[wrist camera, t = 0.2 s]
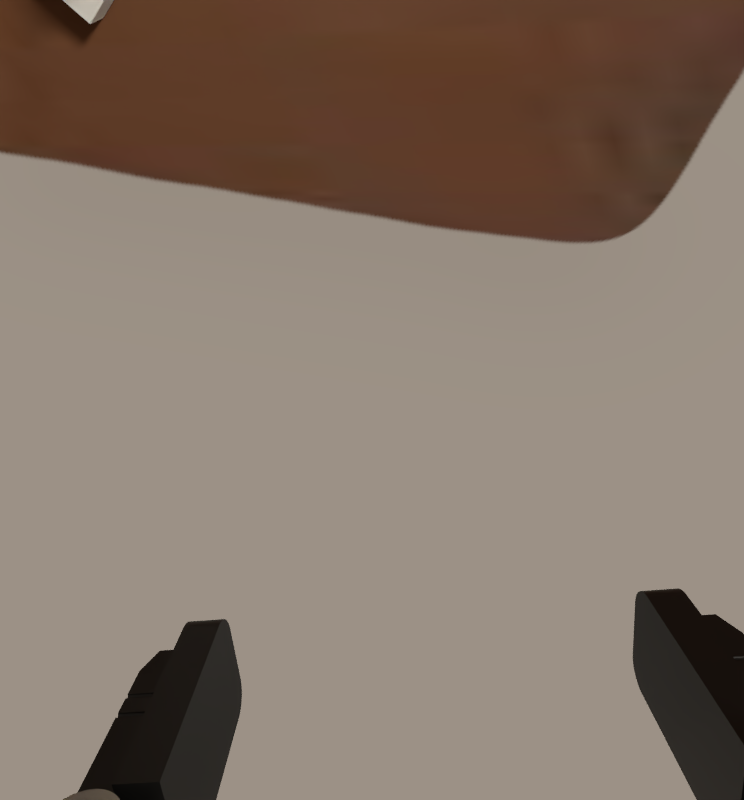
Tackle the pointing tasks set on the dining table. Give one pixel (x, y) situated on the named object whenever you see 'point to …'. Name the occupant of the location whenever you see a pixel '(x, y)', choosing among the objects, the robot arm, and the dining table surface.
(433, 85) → the dining table surface
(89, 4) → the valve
